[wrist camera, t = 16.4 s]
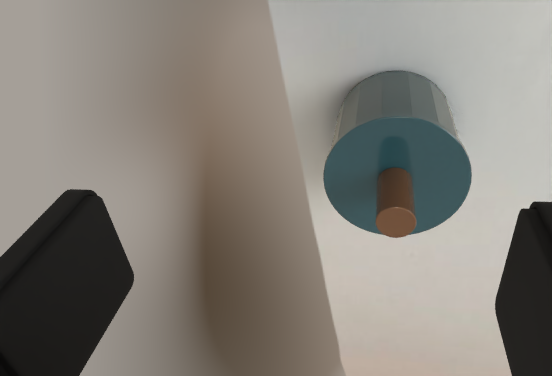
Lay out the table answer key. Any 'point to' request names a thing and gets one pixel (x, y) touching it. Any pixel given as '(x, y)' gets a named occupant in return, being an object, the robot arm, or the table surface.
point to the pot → (393, 100)
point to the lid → (397, 174)
